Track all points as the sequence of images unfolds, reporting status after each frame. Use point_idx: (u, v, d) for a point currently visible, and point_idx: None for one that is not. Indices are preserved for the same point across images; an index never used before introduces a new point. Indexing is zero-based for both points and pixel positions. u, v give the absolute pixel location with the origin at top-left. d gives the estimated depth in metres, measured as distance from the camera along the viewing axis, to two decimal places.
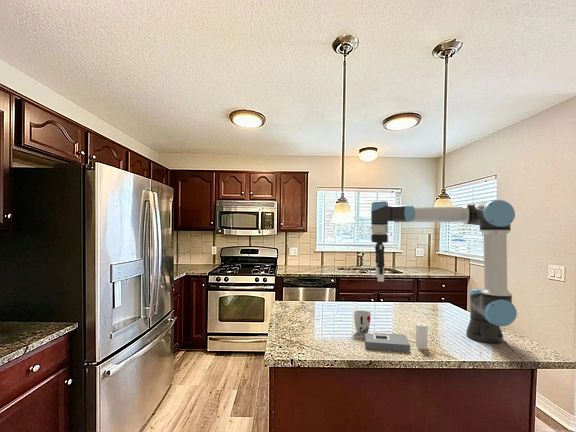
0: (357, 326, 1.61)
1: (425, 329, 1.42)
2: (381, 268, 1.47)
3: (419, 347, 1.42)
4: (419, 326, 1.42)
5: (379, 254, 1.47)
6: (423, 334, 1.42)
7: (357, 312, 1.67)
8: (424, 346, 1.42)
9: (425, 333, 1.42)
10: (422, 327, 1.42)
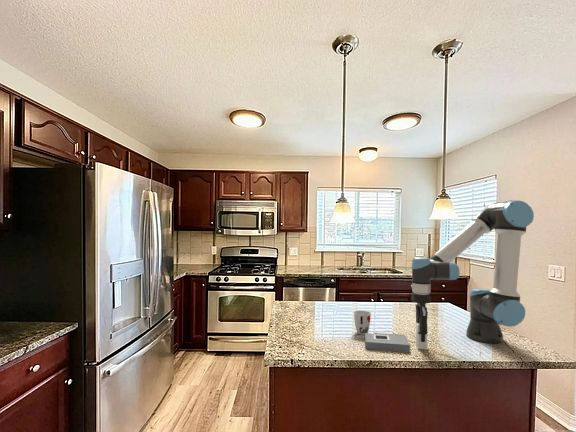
0: (357, 326, 1.61)
1: None
2: (423, 335, 1.40)
3: None
4: None
5: (422, 322, 1.39)
6: None
7: (357, 312, 1.67)
8: None
9: None
10: None
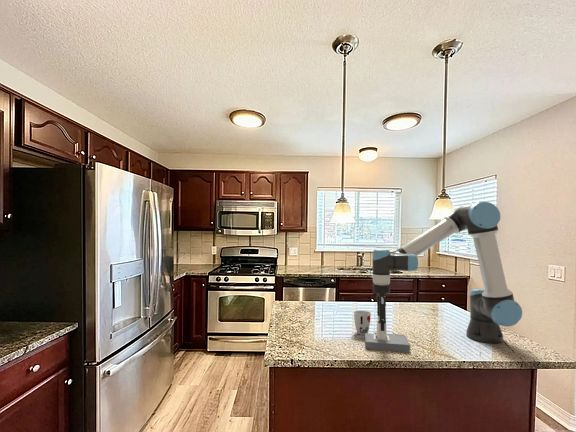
0: (357, 326, 1.61)
1: None
2: (382, 324, 1.41)
3: None
4: (378, 323, 1.46)
5: (381, 310, 1.41)
6: None
7: (357, 312, 1.67)
8: None
9: None
10: None
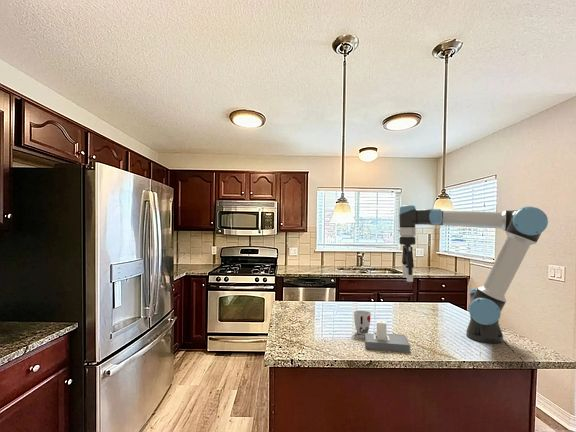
0: (357, 326, 1.61)
1: (384, 326, 1.45)
2: (410, 269, 1.55)
3: None
4: (378, 323, 1.46)
5: (408, 256, 1.56)
6: (382, 331, 1.45)
7: (357, 312, 1.67)
8: None
9: (384, 330, 1.45)
10: (381, 324, 1.45)
